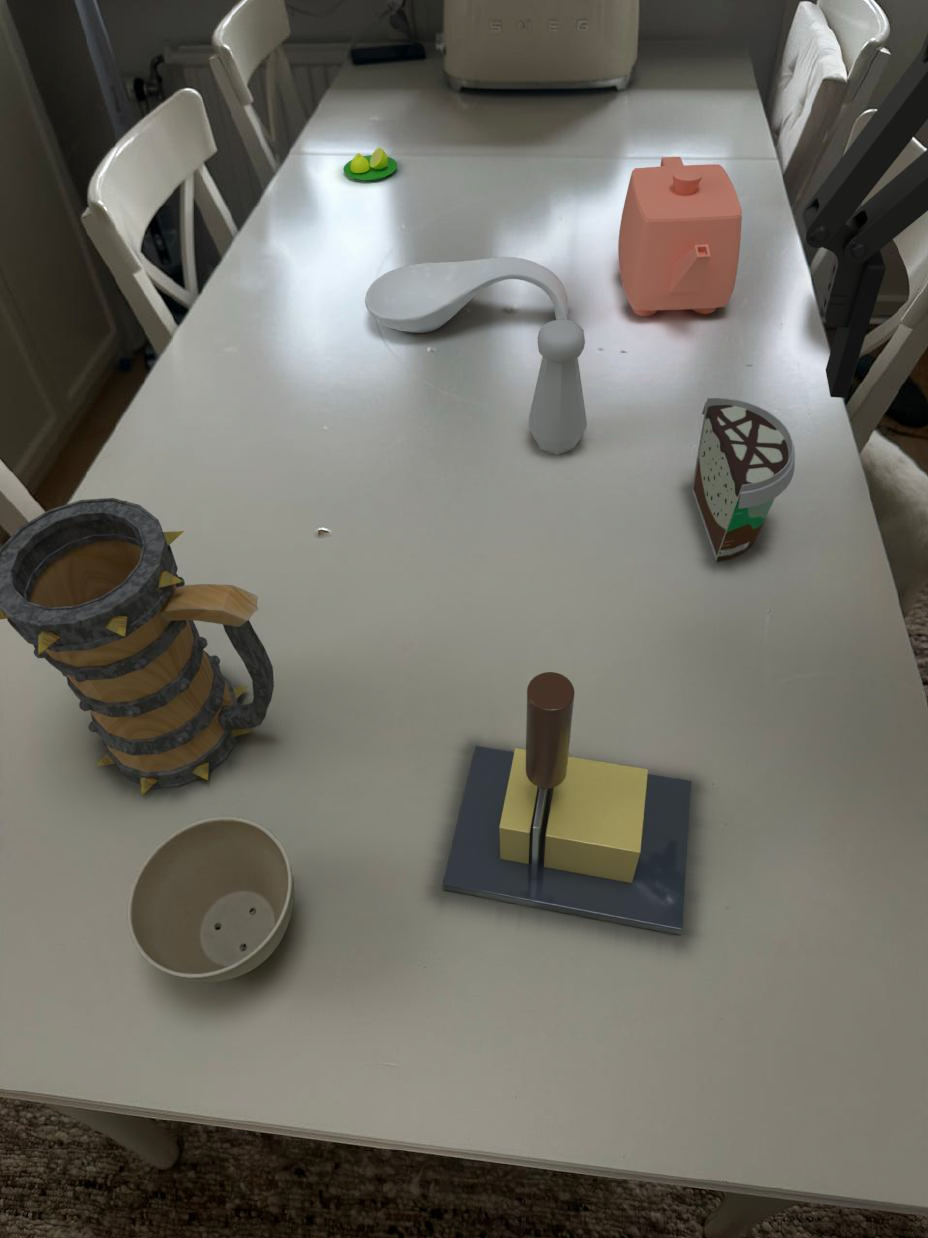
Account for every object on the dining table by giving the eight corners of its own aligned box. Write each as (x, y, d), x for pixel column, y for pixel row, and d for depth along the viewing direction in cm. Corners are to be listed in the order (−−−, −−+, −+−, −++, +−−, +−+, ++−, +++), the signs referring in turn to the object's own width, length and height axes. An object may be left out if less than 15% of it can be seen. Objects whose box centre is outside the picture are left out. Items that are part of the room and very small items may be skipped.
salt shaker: (589, 426, 89) (598, 313, 79) (581, 462, 86) (590, 349, 76) (533, 420, 90) (535, 307, 80) (523, 456, 87) (524, 343, 77)
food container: (789, 568, 76) (821, 483, 68) (720, 574, 76) (744, 489, 68) (750, 474, 84) (775, 388, 76) (687, 479, 84) (705, 393, 76)
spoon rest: (360, 346, 100) (351, 289, 94) (377, 291, 107) (369, 235, 102) (566, 350, 98) (569, 292, 92) (568, 294, 105) (571, 236, 99)
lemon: (386, 154, 131) (384, 134, 129) (405, 175, 126) (403, 155, 124) (336, 166, 129) (333, 146, 127) (354, 188, 125) (351, 168, 123)
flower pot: (173, 868, 61) (138, 824, 55) (314, 853, 61) (294, 808, 56) (154, 1018, 55) (113, 985, 49) (311, 1001, 55) (288, 967, 49)
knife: (568, 778, 63) (583, 637, 50) (552, 883, 58) (564, 757, 45) (533, 772, 63) (538, 631, 50) (514, 876, 59) (514, 749, 45)
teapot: (741, 345, 97) (770, 221, 86) (628, 350, 97) (642, 226, 86) (707, 245, 110) (728, 127, 99) (607, 249, 111) (618, 132, 100)
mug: (132, 655, 73) (29, 478, 58) (328, 676, 71) (276, 498, 55) (65, 792, 65) (-75, 629, 50) (283, 821, 63) (208, 660, 47)
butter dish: (689, 787, 63) (703, 745, 58) (680, 935, 57) (695, 902, 52) (475, 751, 66) (472, 709, 61) (443, 890, 59) (437, 854, 55)
